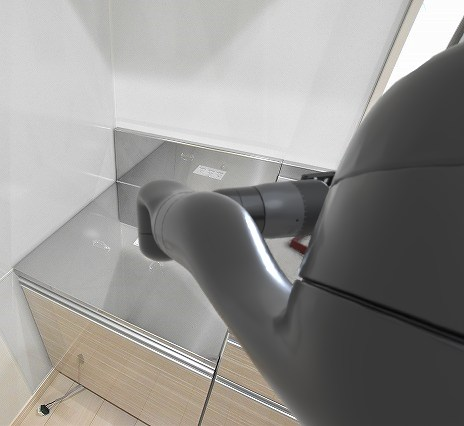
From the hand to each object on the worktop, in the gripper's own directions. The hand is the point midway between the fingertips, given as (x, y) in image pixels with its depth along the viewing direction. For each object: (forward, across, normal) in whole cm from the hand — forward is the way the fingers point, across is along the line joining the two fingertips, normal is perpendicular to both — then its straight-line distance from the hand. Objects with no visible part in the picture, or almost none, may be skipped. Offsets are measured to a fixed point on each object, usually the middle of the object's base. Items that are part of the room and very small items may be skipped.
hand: (395, 199), depth 41 cm
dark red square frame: (+14, +24, +32) cm, 42 cm away
